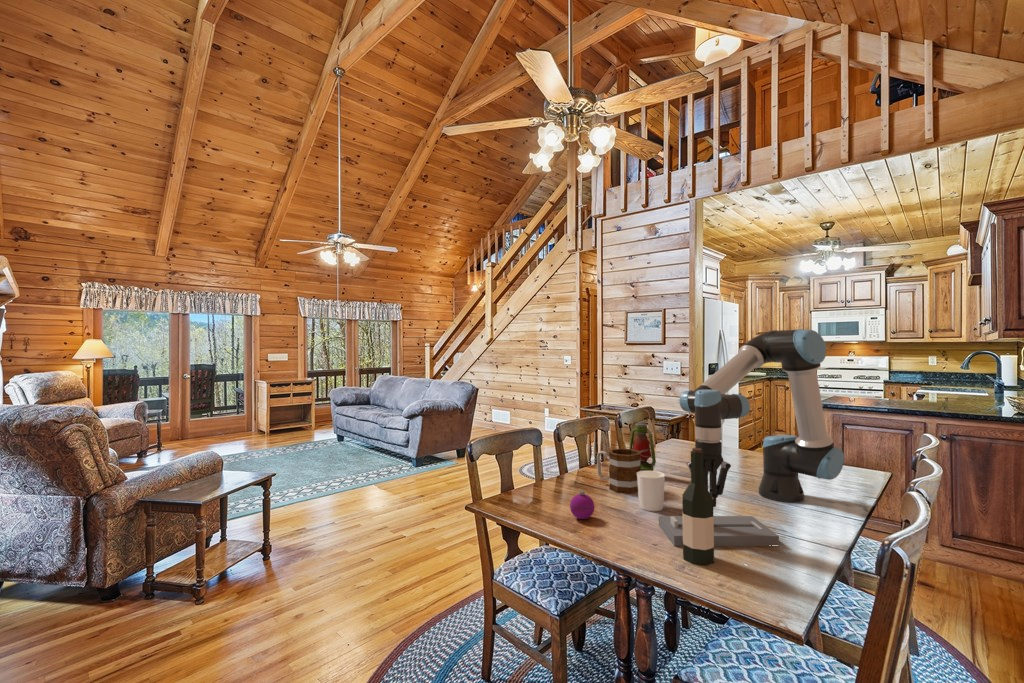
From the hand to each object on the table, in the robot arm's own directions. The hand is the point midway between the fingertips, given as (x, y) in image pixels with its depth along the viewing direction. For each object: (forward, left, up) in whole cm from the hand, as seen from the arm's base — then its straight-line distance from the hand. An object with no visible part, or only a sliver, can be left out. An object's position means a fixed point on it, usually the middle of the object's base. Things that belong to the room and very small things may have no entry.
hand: (709, 517), depth 145 cm
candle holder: (+11, -25, -6) cm, 28 cm away
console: (-2, 0, -6) cm, 6 cm away
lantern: (+4, -67, -6) cm, 67 cm away
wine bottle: (+9, +16, -6) cm, 19 cm away
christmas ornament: (+37, -14, -6) cm, 40 cm away
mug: (+18, -49, -6) cm, 53 cm away
